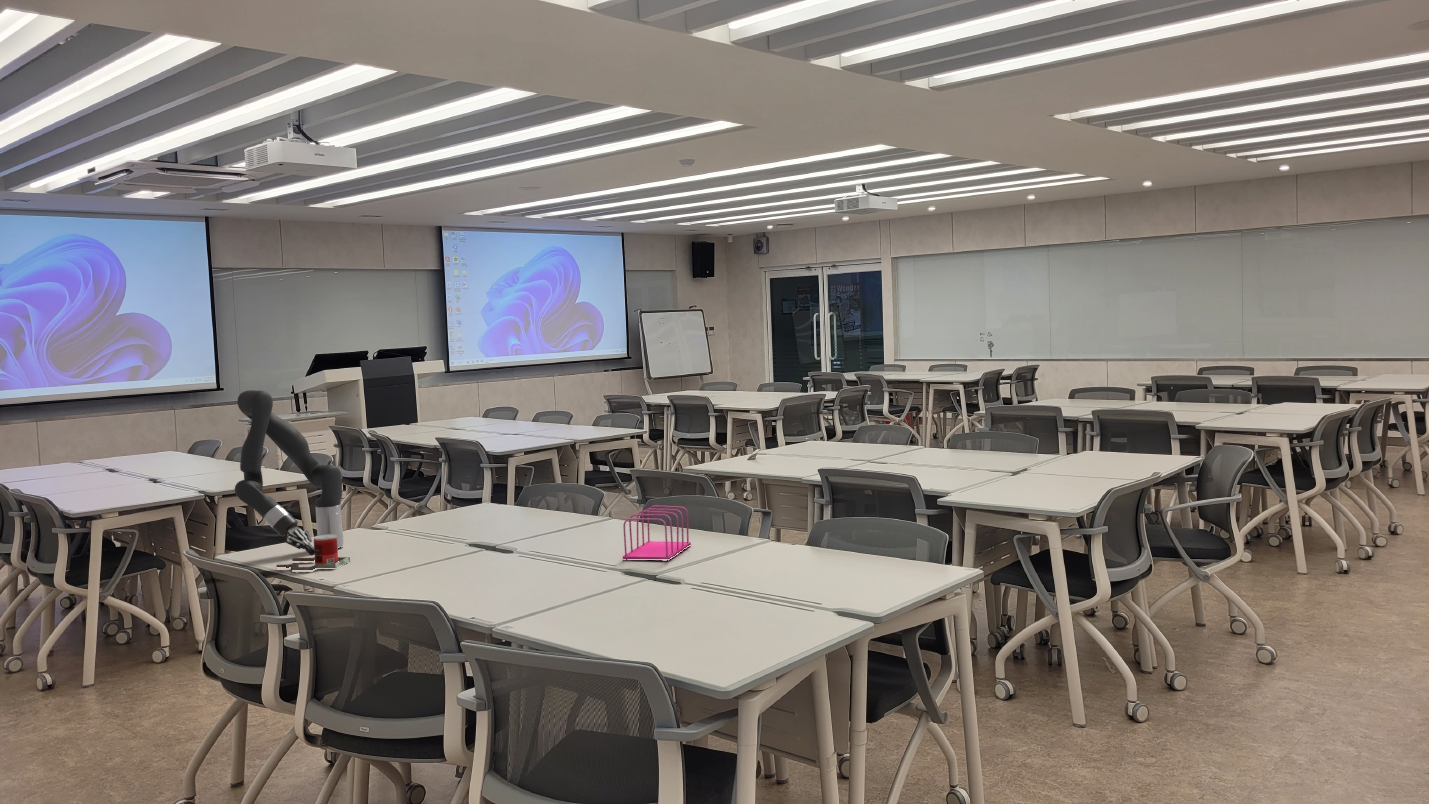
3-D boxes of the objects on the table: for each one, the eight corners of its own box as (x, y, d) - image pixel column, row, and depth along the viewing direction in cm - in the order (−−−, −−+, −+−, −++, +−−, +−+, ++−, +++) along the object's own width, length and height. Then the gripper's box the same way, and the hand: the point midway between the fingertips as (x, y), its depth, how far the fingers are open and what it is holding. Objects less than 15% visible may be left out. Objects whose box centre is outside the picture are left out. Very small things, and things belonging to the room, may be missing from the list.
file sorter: (691, 546, 361) (689, 505, 360) (668, 562, 337) (666, 517, 336) (647, 545, 366) (645, 504, 365) (622, 561, 342) (620, 516, 341)
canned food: (342, 563, 355) (340, 533, 354) (332, 568, 347) (330, 538, 346) (322, 564, 356) (320, 534, 355) (311, 569, 348) (309, 538, 347)
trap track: (298, 560, 363) (298, 555, 363) (355, 559, 360) (354, 554, 360) (270, 573, 344) (270, 567, 344) (329, 572, 342) (329, 566, 342)
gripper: (277, 516, 345) (311, 550, 345) (296, 510, 358) (330, 542, 358) (263, 531, 346) (298, 565, 345) (284, 524, 359) (317, 556, 359)
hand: (314, 553), depth 352 cm, fingers closed
